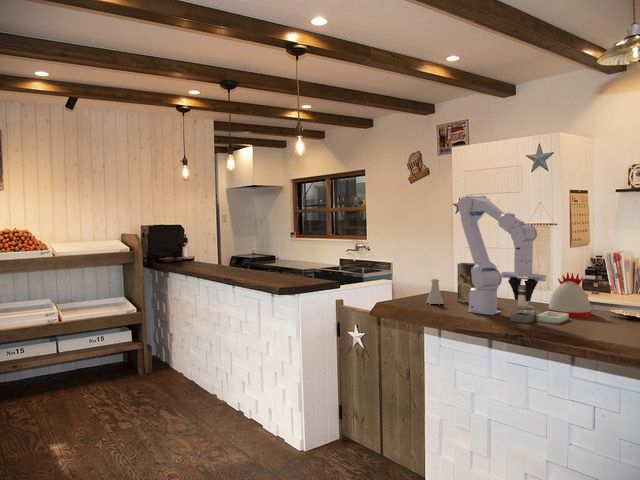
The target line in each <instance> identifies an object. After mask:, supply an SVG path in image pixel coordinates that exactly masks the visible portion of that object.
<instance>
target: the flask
mask: <svg viewBox="0 0 640 480" xmlns="http://www.w3.org/2000/svg"><path fill="white" fill-rule="evenodd" d="M430 280H431V287H430V291H429V294H428V297H427V300H426V303H425V304H427V303H429V304H428V305H431V304H439V305H440V304H443V305H444V303H445V302H444V300H443V296H442V293H441V291H440V290H441V289H440V286H439V281H440V279H438V278H437V279H436V278H432V279H430ZM439 305H438V306H439Z"/></svg>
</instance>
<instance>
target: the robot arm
mask: <svg viewBox="0 0 640 480" xmlns="http://www.w3.org/2000/svg"><path fill="white" fill-rule="evenodd" d="M457 207H458V210H459V211H458V212H459V213H460V221H461V225H462V229H463V231H464V235H465V237H466V238H465V239H466V241H467V244H468V248H469V252H470V253H471V258H472V260H473V263H474V264H475V266H474V267H473V268H472V270H471V273H472V283H473V285H474V286H475V288H472V289H471V290H470V293H469V303H468V310H467V311H468V312H469V313H474V314H482V315H489V316H493V315H496V314H500V313H502V310H498V289H499V286H500V285H501V284H502V282H503V279H505V278H506V279H507V278H508V284H509V285H510V288H511V291H512V292H513V297H514V301H518V285H522V280H524V285H525V286H526V301H527V302H528V303H529V302H531V300H532V296H533V293H534V291H535V289H536V286H537V285H538V283H539V282H547V275H546V274H539V273H533V257H534V255H533V254H534V241H535V240H536V238H537V237H538V231H537V228H535V226H534V225H533V224H526V223H525V221H524V220H520V219H519V218H517V217H516V214H515V213H514V212H513V213H512V212H506V213H505V212H504V211H502V209H500V208H499V207H498V206H496V205H495V204H494V203H493V202H492V201H491V199H490V198H488V197H487V196H485V195H463V196H462V197H461V198H460V200H459V201H458V204H457ZM484 214H487V215H488V216H490V217H491V218H493V219H494V220H496V221H498V222H497V223H498V226H499V228H501V229H503V230H504V231H505V232H506V233H508V234H509V235H510V237H511V240H512V242H513V248H514V256H513V257H514V259H513V260H514V261H513V262H514V263H513V265H514V267H513V268H514V271H501V272H500V271H499V270H498V268H497V265H496V264H494V263H493V262H492V261H491V260H490V258H489V255H488V251H487V249H486V246H485V242H484V238H483V236H482V234H481V231H480V227H479V224H478V222H479V220H480V219H482V217H483V216H484Z"/></svg>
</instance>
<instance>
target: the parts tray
mask: <svg viewBox="0 0 640 480" xmlns="http://www.w3.org/2000/svg"><path fill="white" fill-rule="evenodd" d="M569 319H570V317H569V314H567V313H559V312H551V311H548V310H547V311H545V312H541V314H538V315H536V320H535V321H536V322H540V323H548V324H554V325H555V324H556V325H559V324H561V323H563V322H566V321H568V320H569Z"/></svg>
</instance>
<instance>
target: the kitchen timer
mask: <svg viewBox="0 0 640 480" xmlns="http://www.w3.org/2000/svg"><path fill="white" fill-rule="evenodd" d="M579 274H580V273H577V275H576V276H574V273H573V272H571V276H569V272H566V277H565V275H564V274H563V275H562V280H561V279H560V278H559V277H558V278H557V280H558V283H559V285H558V286H557V287H556V289H554V290H553V292H552V295H551V297H550V300H549V303H548V310H547V311H551V312H559V313H567V314H569V318H586V317H591V315H592V307H591V303H590V299H589V294H588V293H587V292H586V291H585V290H584V288H583V287H582V286H581V285H580V284H581V282H582V281H583V279H584V277H583V276H582V277H581V278H579V277H580V276H579Z"/></svg>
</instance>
